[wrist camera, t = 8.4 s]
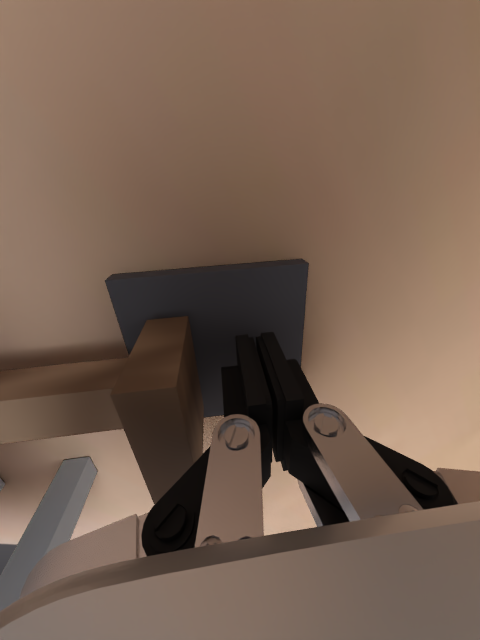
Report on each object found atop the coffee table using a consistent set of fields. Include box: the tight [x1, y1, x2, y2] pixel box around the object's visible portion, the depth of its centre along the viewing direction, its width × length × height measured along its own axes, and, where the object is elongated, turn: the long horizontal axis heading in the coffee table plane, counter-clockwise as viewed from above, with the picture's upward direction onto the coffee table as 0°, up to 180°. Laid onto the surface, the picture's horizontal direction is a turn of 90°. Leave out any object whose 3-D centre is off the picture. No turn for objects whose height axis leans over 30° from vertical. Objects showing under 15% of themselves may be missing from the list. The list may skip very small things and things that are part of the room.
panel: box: [105, 259, 309, 417], centre depth 12 cm, size 8×8×1 cm
